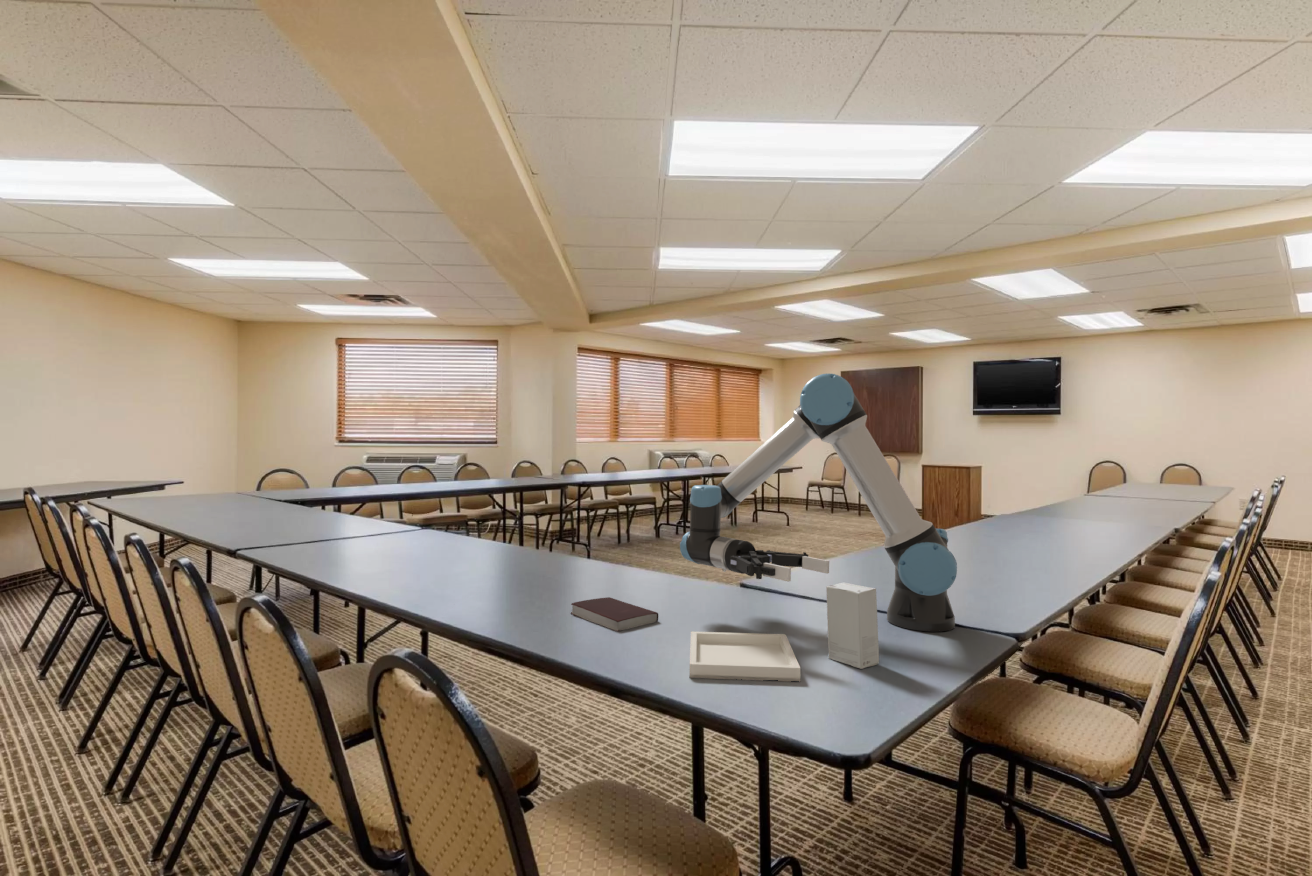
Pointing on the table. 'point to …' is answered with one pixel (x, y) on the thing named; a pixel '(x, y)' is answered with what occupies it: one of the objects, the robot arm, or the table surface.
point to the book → (613, 613)
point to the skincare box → (852, 624)
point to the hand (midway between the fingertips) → (809, 570)
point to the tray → (742, 656)
